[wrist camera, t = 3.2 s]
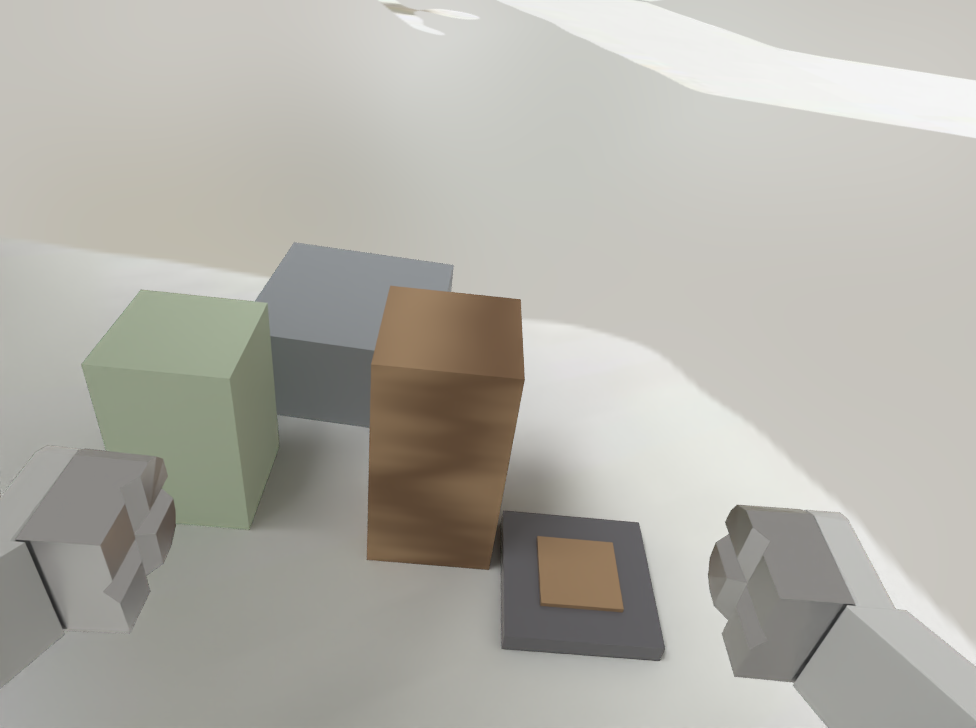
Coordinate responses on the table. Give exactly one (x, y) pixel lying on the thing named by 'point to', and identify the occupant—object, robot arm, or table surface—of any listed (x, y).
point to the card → (577, 587)
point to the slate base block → (334, 326)
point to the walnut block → (442, 425)
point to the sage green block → (192, 399)
